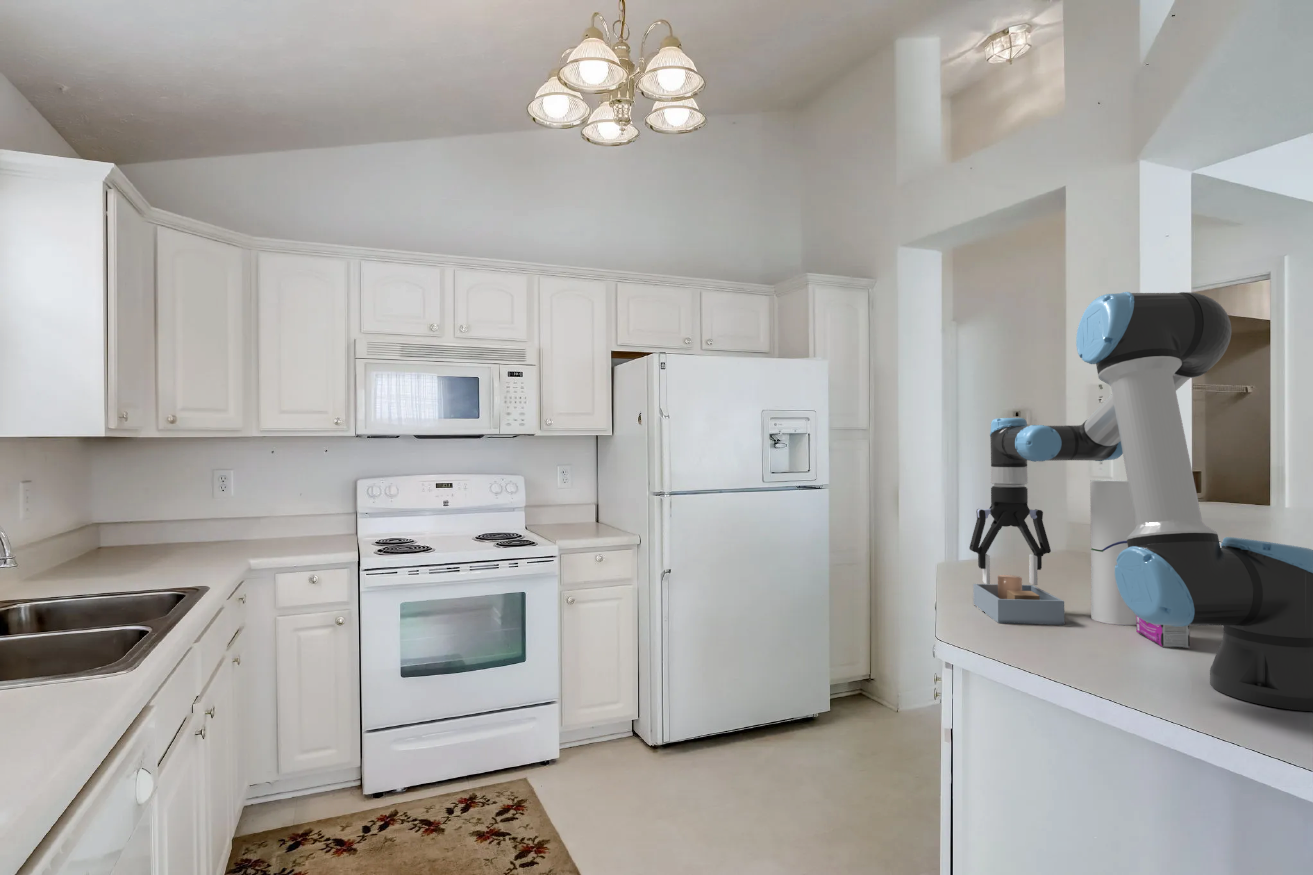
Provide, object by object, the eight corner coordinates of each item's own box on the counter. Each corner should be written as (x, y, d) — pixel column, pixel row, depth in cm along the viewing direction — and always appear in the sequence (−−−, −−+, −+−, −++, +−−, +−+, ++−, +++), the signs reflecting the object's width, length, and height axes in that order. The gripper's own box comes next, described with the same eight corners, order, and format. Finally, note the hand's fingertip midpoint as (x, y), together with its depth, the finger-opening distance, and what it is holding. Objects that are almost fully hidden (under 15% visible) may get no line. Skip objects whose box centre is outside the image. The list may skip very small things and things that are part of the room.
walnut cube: (1031, 613, 159) (1031, 591, 159) (1039, 619, 154) (1039, 595, 154) (1007, 613, 159) (1007, 590, 160) (1014, 618, 155) (1014, 595, 155)
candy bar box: (1134, 632, 145) (1133, 550, 145) (1161, 633, 144) (1161, 551, 144) (1161, 648, 134) (1160, 559, 134) (1191, 649, 133) (1190, 560, 133)
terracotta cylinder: (1011, 604, 168) (1011, 574, 168) (1027, 609, 163) (1027, 578, 163) (993, 605, 167) (992, 575, 167) (1008, 610, 162) (1008, 579, 162)
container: (1148, 625, 151) (1146, 481, 151) (1106, 625, 151) (1105, 481, 151) (1122, 615, 159) (1121, 479, 160) (1083, 615, 160) (1082, 479, 160)
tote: (1064, 624, 151) (1064, 601, 151) (998, 623, 153) (998, 599, 153) (1032, 606, 168) (1032, 585, 168) (973, 605, 170) (973, 583, 170)
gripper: (1053, 484, 167) (1054, 581, 167) (953, 484, 170) (954, 579, 170) (1067, 486, 160) (1068, 587, 160) (963, 486, 163) (963, 585, 162)
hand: (1009, 583), depth 165 cm, fingers open, 9 cm apart
